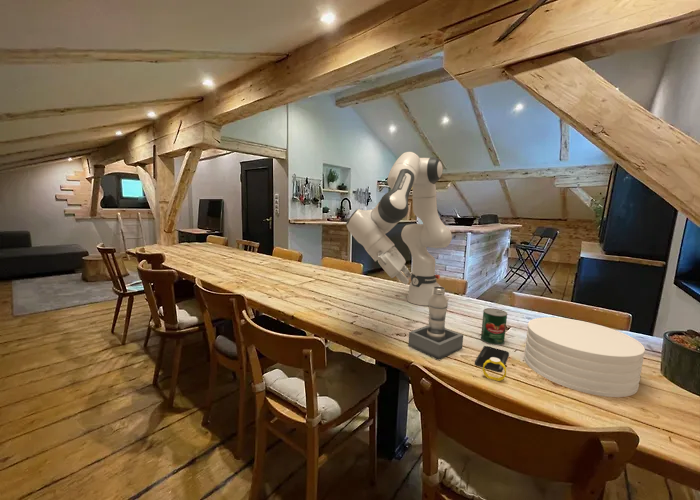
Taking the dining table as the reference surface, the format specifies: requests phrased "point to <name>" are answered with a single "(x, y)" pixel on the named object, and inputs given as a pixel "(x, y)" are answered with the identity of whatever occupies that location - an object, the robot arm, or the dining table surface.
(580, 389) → the plate stack
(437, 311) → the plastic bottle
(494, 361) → the watch
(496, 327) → the canned tomato
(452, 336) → the tray
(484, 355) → the phone
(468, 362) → the dining table surface
